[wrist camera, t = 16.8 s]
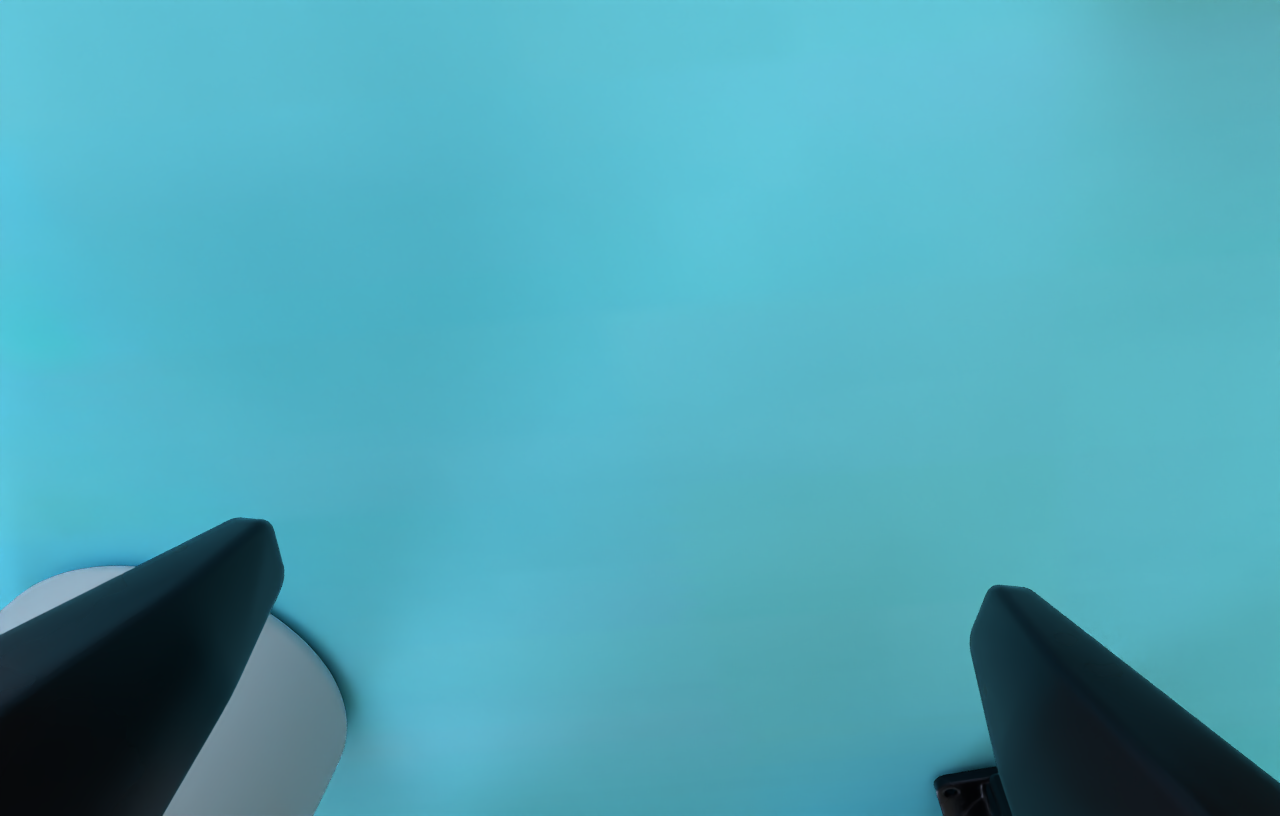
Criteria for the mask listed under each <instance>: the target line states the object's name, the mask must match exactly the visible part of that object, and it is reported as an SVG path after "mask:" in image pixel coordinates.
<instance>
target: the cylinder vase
mask: <svg viewBox="0 0 1280 816" xmlns="http://www.w3.org/2000/svg"><path fill="white" fill-rule="evenodd" d="M134 567H135V566H99V567H90V568H83V569H78V570H73V571H69V572H65V573H62V574H59V575H56V576H53V577H50V578H48V579H45V580H43V581H41V582H39V583H37V584H35V585H34V586H32V587H30V588H29V589H27V590H25V591H24V592H23V593H21V594H20V595H19V596H17V597H16V598H15V599H14V600H13V601H12V602H10V603H9V604H8V605H7V606H6V607H5V608H3V609H2V610H1V611H0V634H2V633H4V632H6V631H8V630H10V629H12V628H14V627H16V626H18V625H20V624H22V623H24V622H26V621H28V620H30V619H32V618H34V617H36V616H38V615H40V614H42V613H44V612H46V611H48V610H50V609H52V608H54V607H56V606H58V605H60V604H62V603H64V602H66V601H68V600H70V599H72V598H74V597H76V596H78V595H80V594H82V593H84V592H86V591H88V590H90V589H92V588H94V587H96V586H98V585H100V584H102V583H104V582H106V581H108V580H110V579H112V578H114V577H116V576H118V575H120V574H122V573H124V572H126V571H128V570H130V569H132V568H134ZM346 736H347V717H346V710H345V706H344V702H343V699H342V696H341V693H340V691H339V688H338V686H337V684H336V682H335V680H334V678H333V676H332V675H331V673H330V672H329V670H328V668H327V667H326V666H325V664H324V663H323V662H322V660H321V659H320V658H319V656H318V655H317V654H316V653H315V652H314V651H313V649H312V648H311V647H310V646H309V645H308V644H307V643H306V642H305V641H304V640H303V639H302V638H301V637H300V636H298V635H297V634H296V633H295V632H294V631H293V630H292V629H290V628H289V627H288V626H287V625H285V624H284V623H283V622H281V621H280V620H279V619H277V618H276V617H274V616H273V615H271V614H269V616H268V618H267V621H266V623H265V625H264V627H263V630H262V632H261V634H260V636H259V638H258V641H257V643H256V645H255V647H254V649H253V652H252V654H251V656H250V658H249V660H248V663H247V665H246V667H245V669H244V671H243V674H242V676H241V678H240V680H239V682H238V684H237V686H236V688H235V690H234V692H233V694H232V697H231V698H230V700H229V702H228V704H227V706H226V707H225V709H224V711H223V713H222V715H221V716H220V718H219V720H218V722H217V723H216V725H215V727H214V728H213V730H212V732H211V734H210V735H209V737H208V739H207V741H206V742H205V744H204V746H203V747H202V749H201V751H200V753H199V754H198V756H197V758H196V759H195V761H194V763H193V765H192V766H191V768H190V770H189V771H188V773H187V775H186V777H185V778H184V780H183V782H182V783H181V785H180V787H179V789H178V790H177V792H176V794H175V795H174V797H173V799H172V801H171V802H170V804H169V806H168V808H167V809H166V811H165V813H164V814H163V816H313V815H314V813H315V811H316V809H317V807H318V805H319V803H320V801H321V799H322V796H323V794H324V792H325V790H326V788H327V786H328V784H329V782H330V780H331V778H332V775H333V773H334V771H335V769H336V767H337V765H338V763H339V761H340V759H341V756H342V754H343V750H344V747H345V743H346Z"/></svg>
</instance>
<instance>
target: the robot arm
mask: <svg viewBox="0 0 1280 816" xmlns="http://www.w3.org/2000/svg"><path fill="white" fill-rule="evenodd" d="M283 580H284V566H283V562H282V559H281V555H280V551H279V547H278V544H277V540H276V536H275V532H274V529H273V526H272V525H271V524H270V523H269V522H268V521H266V520H263V519H251V518H233V519H231V520H228V521H226V522H224V523H222V524H220V525H218V526H216V527H214V528H212V529H210V530H208V531H206V532H204V533H202V534H200V535H198V536H196V537H194V538H192V539H190V540H188V541H186V542H184V543H182V544H180V545H178V546H176V547H174V548H172V549H170V550H168V551H166V552H164V553H162V554H160V555H158V556H156V557H154V558H152V559H150V560H148V561H146V562H144V563H142V564H140V565H138V566H136V567H134V568H132V569H130V570H128V571H126V572H124V573H122V574H120V575H118V576H116V577H114V578H112V579H110V580H108V581H106V582H104V583H102V584H100V585H98V586H96V587H94V588H92V589H90V590H88V591H86V592H84V593H82V594H80V595H78V596H76V597H74V598H72V599H70V600H68V601H66V602H64V603H62V604H60V605H58V606H56V607H54V608H52V609H50V610H48V611H46V612H44V613H42V614H40V615H38V616H36V617H34V618H32V619H30V620H28V621H26V622H24V623H22V624H20V625H18V626H16V627H14V628H12V629H10V630H8V631H6V632H4V633H2V634H0V816H163V814H164V813H165V811H166V809H167V808H168V806H169V804H170V802H171V801H172V799H173V797H174V795H175V794H176V792H177V790H178V789H179V787H180V785H181V783H182V782H183V780H184V778H185V777H186V775H187V773H188V771H189V770H190V768H191V766H192V765H193V763H194V761H195V759H196V758H197V756H198V754H199V753H200V751H201V749H202V747H203V746H204V744H205V742H206V741H207V739H208V737H209V735H210V734H211V732H212V730H213V728H214V727H215V725H216V723H217V722H218V720H219V718H220V716H221V715H222V713H223V711H224V709H225V707H226V706H227V704H228V702H229V700H230V698H231V697H232V694H233V692H234V690H235V688H236V686H237V684H238V682H239V680H240V678H241V676H242V674H243V671H244V669H245V667H246V665H247V663H248V660H249V658H250V656H251V654H252V652H253V649H254V647H255V645H256V643H257V641H258V638H259V636H260V634H261V632H262V630H263V627H264V625H265V623H266V621H267V618H268V616H269V614H270V612H271V610H272V607H273V605H274V603H275V601H276V599H277V596H278V594H279V592H280V590H281V587H282V584H283ZM970 651H971V656H972V661H973V665H974V669H975V674H976V678H977V683H978V687H979V691H980V696H981V700H982V705H983V709H984V713H985V718H986V722H987V727H988V731H989V735H990V740H991V744H992V749H993V753H994V757H995V761H996V765H997V766H996V767H990V768H984V769H977V770H971V771H965V772H959V773H953V774H946V775H942V776H939V777H938V778H936V779H935V781H934V788H935V791H936V794H937V797H938V800H939V803H940V806H941V810H942V813H943V816H1280V783H1279V782H1278V781H1276V780H1275V779H1274V778H1272V777H1271V776H1270V775H1269V774H1267V773H1266V772H1265V771H1263V770H1262V769H1261V768H1260V767H1258V766H1257V765H1256V764H1254V763H1253V762H1252V761H1251V760H1249V759H1248V758H1247V757H1245V756H1244V755H1243V754H1242V753H1240V752H1239V751H1238V750H1236V749H1235V748H1234V747H1233V746H1231V745H1230V744H1229V743H1227V742H1226V741H1225V740H1224V739H1222V738H1221V737H1220V736H1218V735H1217V734H1216V733H1215V732H1213V731H1212V730H1211V729H1210V728H1208V727H1207V726H1206V725H1204V724H1203V723H1202V722H1201V721H1199V720H1198V719H1197V718H1195V717H1194V716H1193V715H1192V714H1190V713H1189V712H1188V711H1186V710H1185V709H1184V708H1183V707H1181V706H1180V705H1179V704H1177V703H1176V702H1175V701H1174V700H1172V699H1171V698H1170V697H1168V696H1167V695H1166V694H1165V693H1163V692H1162V691H1161V690H1159V689H1158V688H1157V687H1156V686H1154V685H1153V684H1152V683H1150V682H1149V681H1148V680H1147V679H1145V678H1144V677H1143V676H1141V675H1140V674H1139V673H1138V672H1136V671H1135V670H1134V669H1132V668H1131V667H1130V666H1129V665H1127V664H1126V663H1125V662H1123V661H1122V660H1121V659H1120V658H1118V657H1117V656H1116V655H1114V654H1113V653H1112V652H1111V651H1109V650H1108V649H1107V648H1105V647H1104V646H1103V645H1102V644H1100V643H1099V642H1098V641H1096V640H1095V639H1094V638H1093V637H1091V636H1090V635H1089V634H1087V633H1086V632H1085V631H1084V630H1082V629H1081V628H1080V627H1078V626H1077V625H1076V624H1075V623H1073V622H1072V621H1071V620H1069V619H1068V618H1067V617H1066V616H1064V615H1063V614H1062V613H1060V612H1059V611H1058V610H1057V609H1055V608H1054V607H1053V606H1051V605H1050V604H1049V603H1048V602H1046V601H1045V600H1044V599H1042V598H1041V597H1040V596H1039V595H1037V594H1036V593H1035V592H1033V591H1032V590H1030V589H1028V588H1025V587H1018V586H1007V585H995V586H992V587H991V588H990V589H989V590H988V591H987V593H986V595H985V598H984V600H983V603H982V605H981V608H980V610H979V613H978V615H977V617H976V620H975V622H974V625H973V627H972V630H971V634H970Z"/></svg>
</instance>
